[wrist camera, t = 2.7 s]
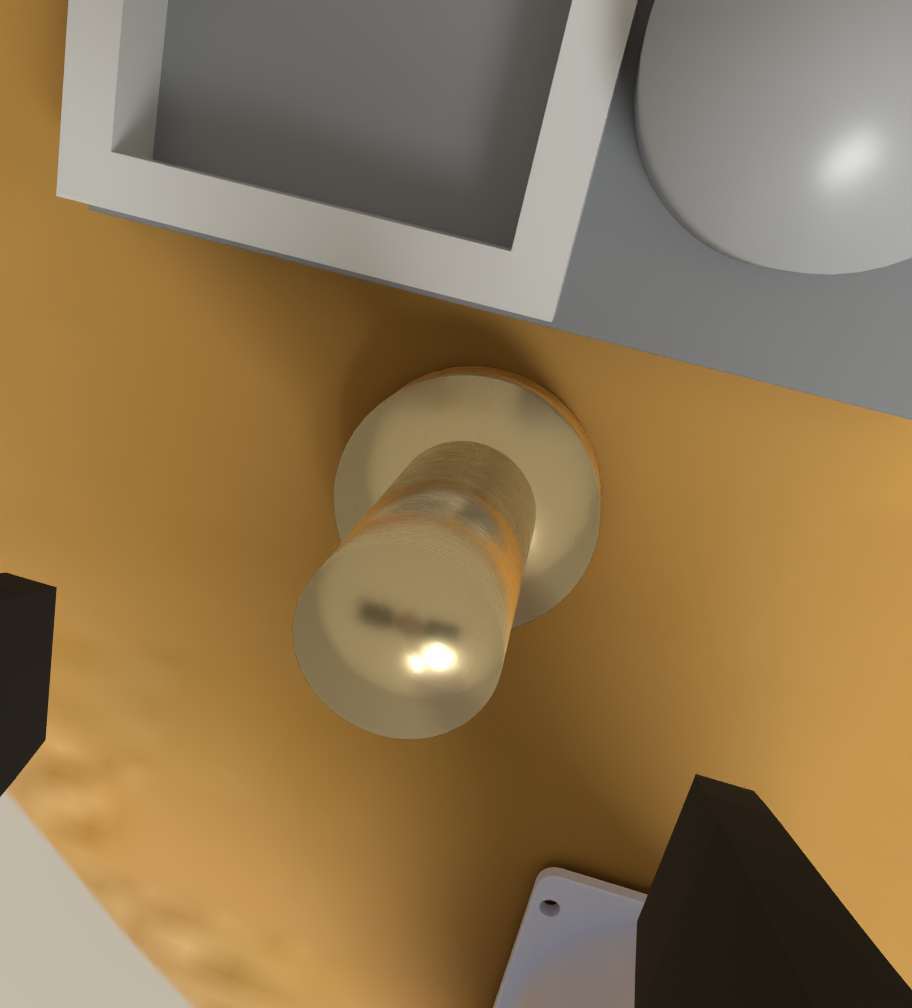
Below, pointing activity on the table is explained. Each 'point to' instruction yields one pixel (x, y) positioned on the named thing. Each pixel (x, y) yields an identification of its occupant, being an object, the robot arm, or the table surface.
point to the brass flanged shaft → (445, 547)
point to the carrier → (536, 162)
